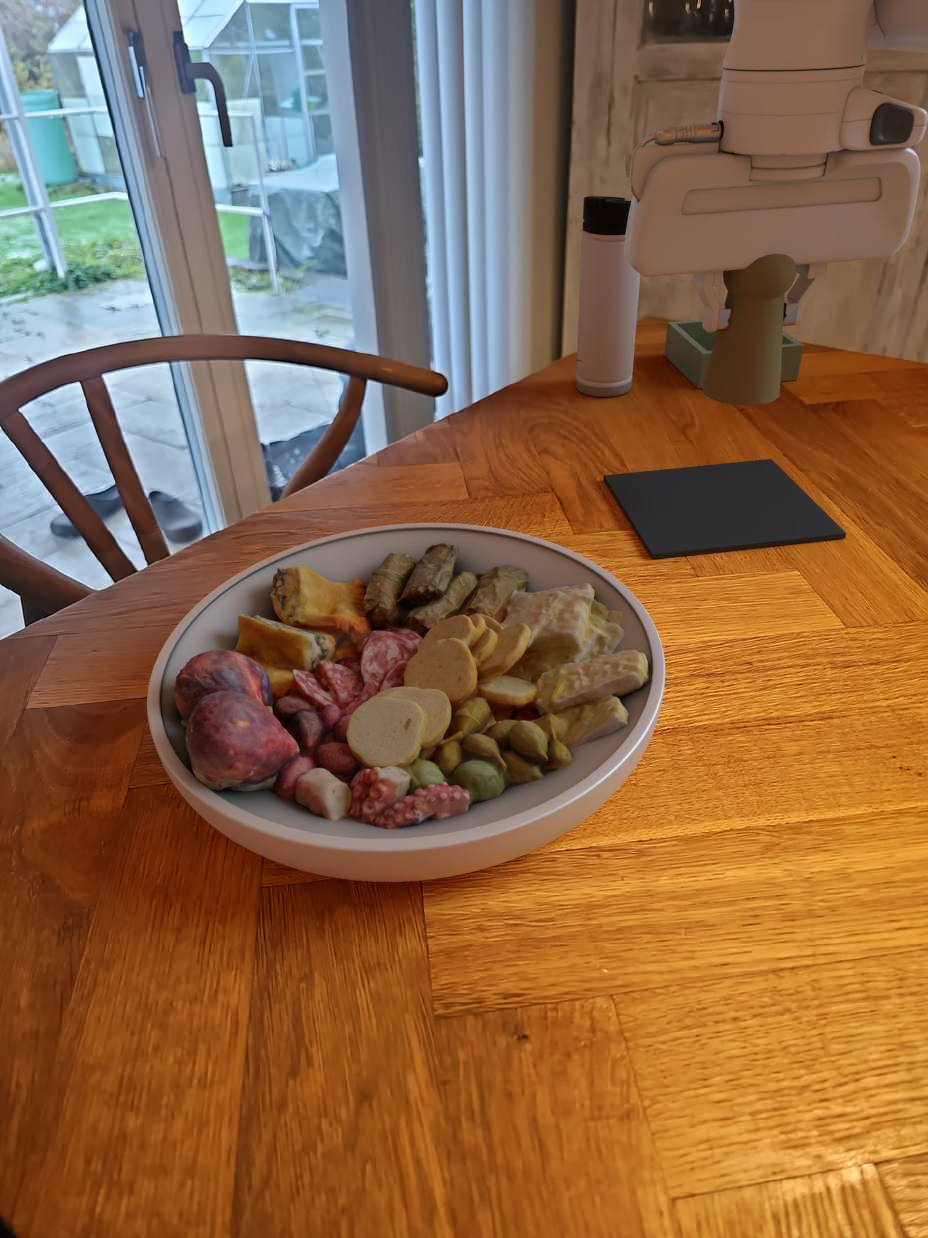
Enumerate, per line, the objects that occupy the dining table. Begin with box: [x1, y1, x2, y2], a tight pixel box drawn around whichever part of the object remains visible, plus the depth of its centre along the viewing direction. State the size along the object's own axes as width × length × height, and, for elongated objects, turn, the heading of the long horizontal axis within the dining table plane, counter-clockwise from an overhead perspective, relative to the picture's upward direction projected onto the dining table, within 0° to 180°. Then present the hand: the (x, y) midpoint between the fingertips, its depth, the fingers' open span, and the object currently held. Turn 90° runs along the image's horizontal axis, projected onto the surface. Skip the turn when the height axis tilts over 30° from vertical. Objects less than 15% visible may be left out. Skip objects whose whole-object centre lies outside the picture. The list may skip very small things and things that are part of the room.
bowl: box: [146, 522, 666, 883], centre depth 51 cm, size 30×30×8 cm
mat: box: [603, 458, 847, 560], centre depth 73 cm, size 16×14×1 cm
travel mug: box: [575, 195, 641, 398], centre depth 90 cm, size 6×7×20 cm
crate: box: [663, 319, 805, 390], centre depth 98 cm, size 12×12×4 cm
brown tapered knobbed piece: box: [701, 254, 797, 406], centre depth 65 cm, size 6×6×11 cm
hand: (751, 326), depth 65 cm, fingers closed on brown tapered knobbed piece, 4 cm apart
